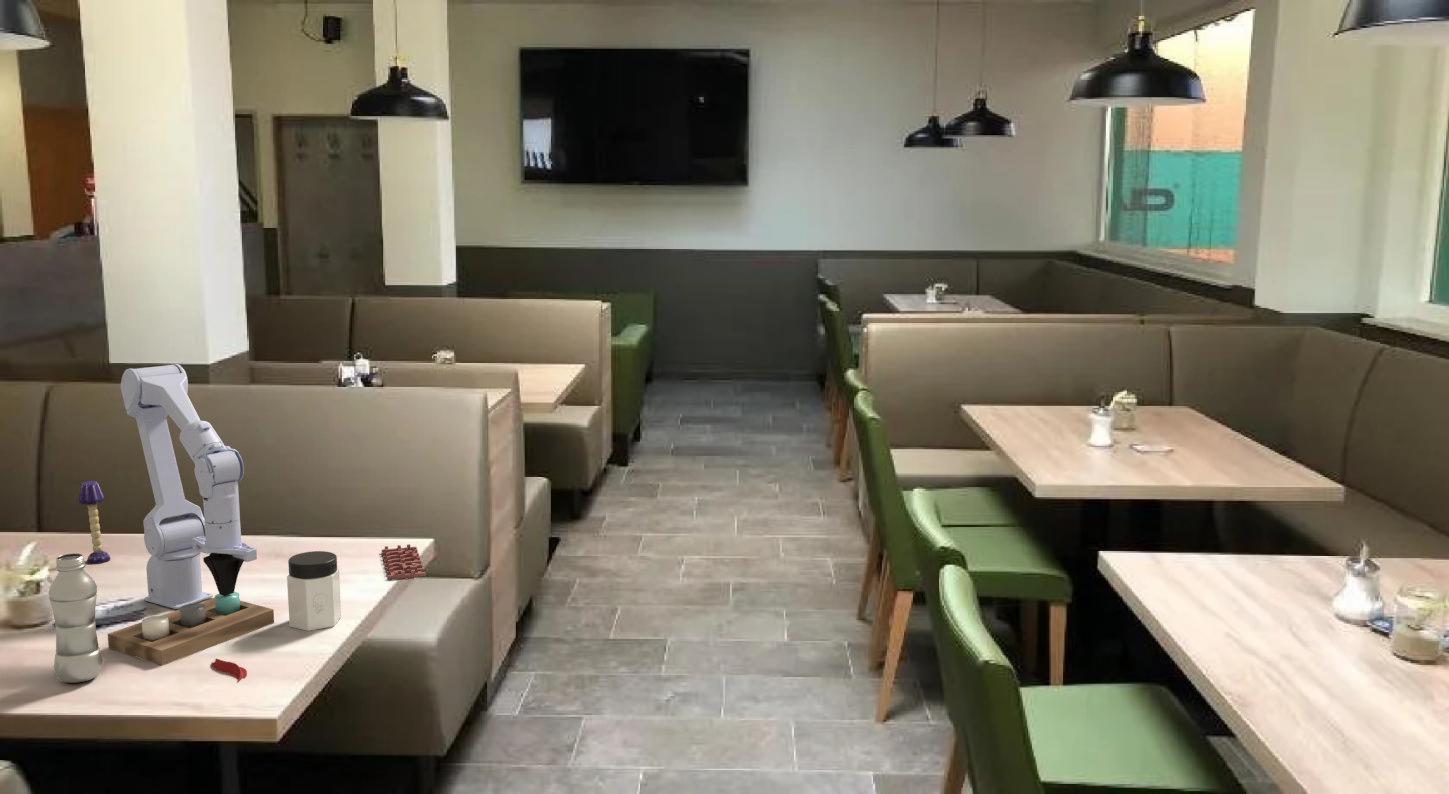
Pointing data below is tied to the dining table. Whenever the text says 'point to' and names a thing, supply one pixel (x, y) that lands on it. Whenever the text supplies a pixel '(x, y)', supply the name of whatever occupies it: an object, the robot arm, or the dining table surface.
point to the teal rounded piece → (227, 603)
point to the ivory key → (155, 627)
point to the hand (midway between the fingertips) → (226, 593)
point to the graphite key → (192, 615)
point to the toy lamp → (93, 519)
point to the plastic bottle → (75, 621)
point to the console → (191, 633)
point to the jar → (313, 590)
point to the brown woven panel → (402, 562)
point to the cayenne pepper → (229, 669)
